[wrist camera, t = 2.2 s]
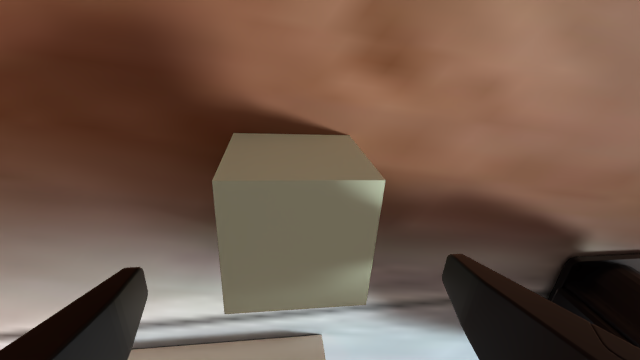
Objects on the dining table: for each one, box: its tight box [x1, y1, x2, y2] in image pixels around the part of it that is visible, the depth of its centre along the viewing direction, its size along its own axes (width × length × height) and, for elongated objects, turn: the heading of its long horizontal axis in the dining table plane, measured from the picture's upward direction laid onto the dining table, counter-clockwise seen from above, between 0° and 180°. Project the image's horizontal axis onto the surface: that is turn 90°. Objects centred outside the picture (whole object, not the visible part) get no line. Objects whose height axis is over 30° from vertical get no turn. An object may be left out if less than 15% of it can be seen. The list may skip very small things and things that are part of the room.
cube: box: [212, 133, 385, 314], centre depth 12 cm, size 5×5×5 cm
